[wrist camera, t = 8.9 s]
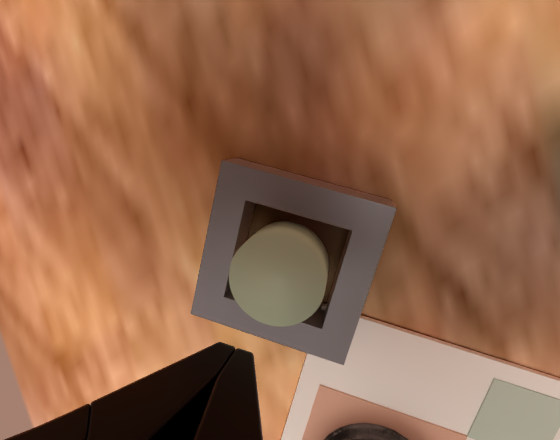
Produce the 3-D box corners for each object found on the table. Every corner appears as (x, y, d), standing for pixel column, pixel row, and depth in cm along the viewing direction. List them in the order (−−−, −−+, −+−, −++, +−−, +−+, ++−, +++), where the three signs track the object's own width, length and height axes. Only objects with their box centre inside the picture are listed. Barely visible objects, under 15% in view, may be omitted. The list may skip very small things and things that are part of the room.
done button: (339, 235, 14) (337, 250, 12) (315, 314, 15) (310, 339, 13) (254, 210, 15) (240, 221, 13) (236, 288, 16) (220, 309, 14)
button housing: (391, 199, 15) (396, 208, 13) (344, 340, 17) (343, 365, 15) (237, 157, 16) (221, 160, 14) (207, 295, 18) (190, 313, 16)
